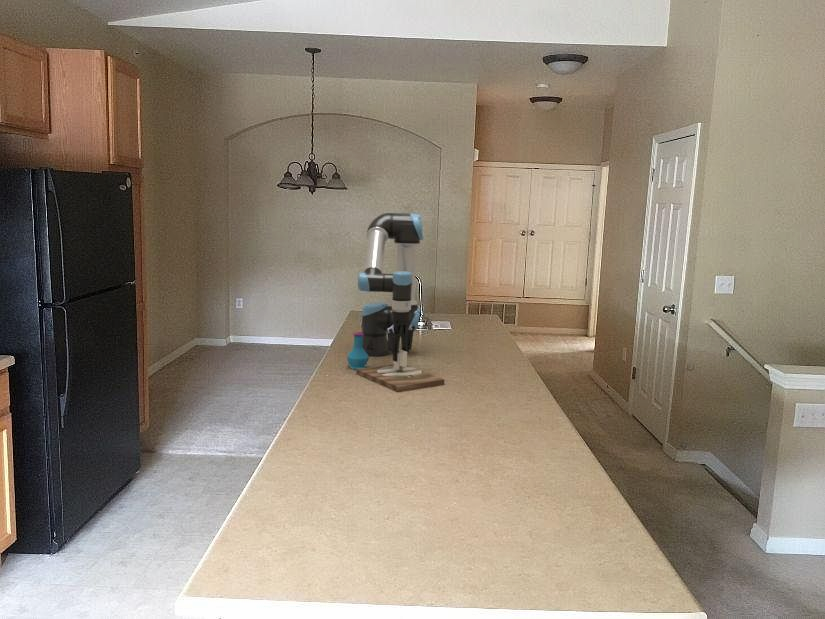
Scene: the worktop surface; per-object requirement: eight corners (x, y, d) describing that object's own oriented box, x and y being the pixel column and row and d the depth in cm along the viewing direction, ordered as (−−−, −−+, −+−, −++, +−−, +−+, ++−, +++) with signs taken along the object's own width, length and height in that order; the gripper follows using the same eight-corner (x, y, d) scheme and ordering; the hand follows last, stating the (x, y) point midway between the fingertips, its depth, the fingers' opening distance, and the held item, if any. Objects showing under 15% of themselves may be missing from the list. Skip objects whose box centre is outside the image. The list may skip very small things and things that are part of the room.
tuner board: (356, 373, 268) (356, 368, 268) (401, 367, 281) (401, 362, 280) (397, 392, 244) (397, 385, 244) (444, 384, 257) (444, 378, 256)
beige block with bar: (375, 372, 263) (375, 350, 262) (397, 369, 269) (397, 348, 268) (384, 376, 257) (385, 354, 256) (406, 373, 263) (407, 351, 262)
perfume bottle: (370, 365, 283) (371, 331, 281) (366, 370, 274) (367, 335, 272) (349, 364, 284) (349, 330, 281) (344, 369, 275) (345, 334, 272)
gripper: (392, 313, 254) (390, 372, 258) (422, 310, 264) (420, 367, 268) (380, 310, 260) (378, 368, 263) (410, 307, 270) (408, 364, 273)
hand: (399, 368), depth 265 cm, fingers closed on beige block with bar, 2 cm apart
